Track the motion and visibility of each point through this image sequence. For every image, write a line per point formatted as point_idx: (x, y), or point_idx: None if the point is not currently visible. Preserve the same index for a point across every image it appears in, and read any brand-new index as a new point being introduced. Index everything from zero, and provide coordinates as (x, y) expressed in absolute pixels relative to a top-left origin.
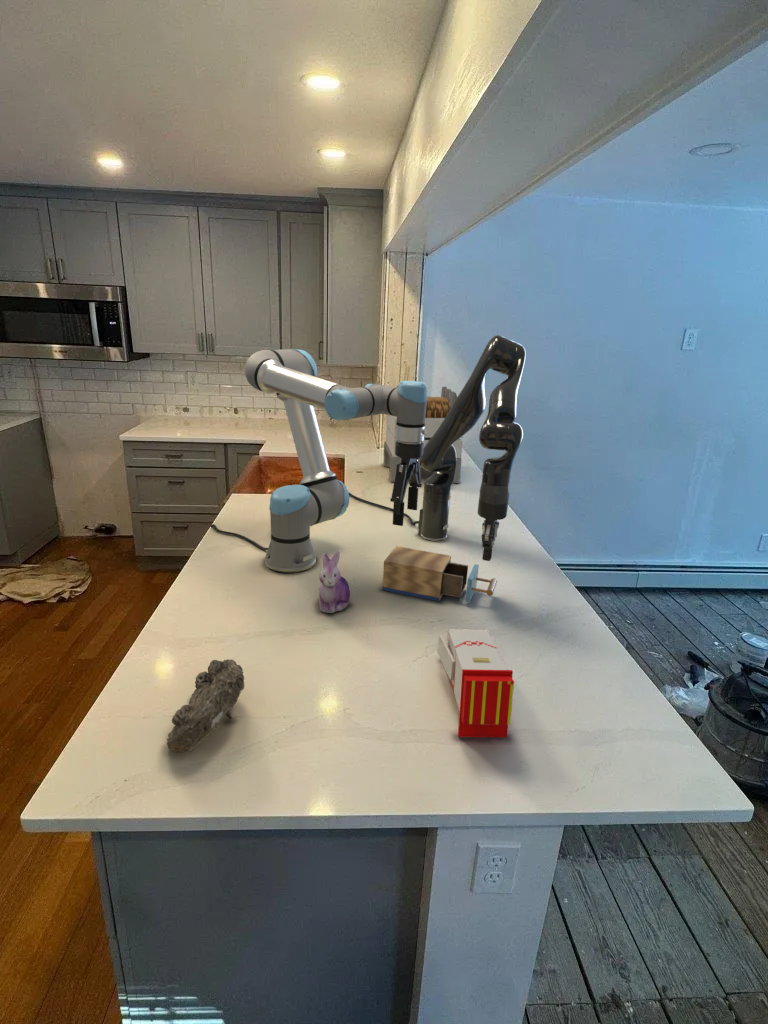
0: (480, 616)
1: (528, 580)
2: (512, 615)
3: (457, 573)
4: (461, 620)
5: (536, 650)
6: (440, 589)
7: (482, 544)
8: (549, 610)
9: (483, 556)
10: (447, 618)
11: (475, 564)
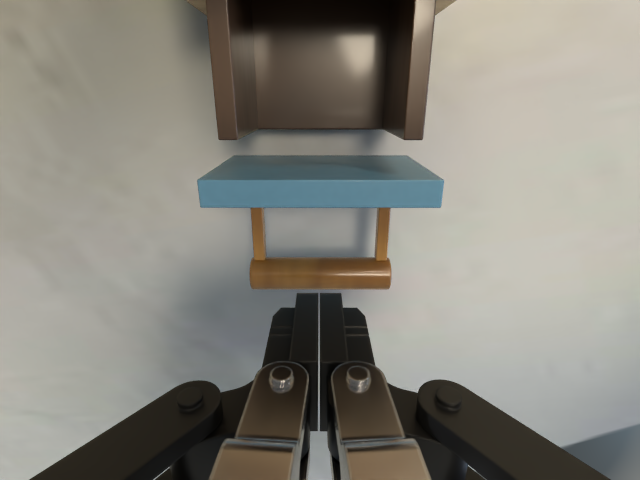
0: (180, 229)
1: (555, 352)
2: (247, 329)
3: (395, 70)
4: (106, 164)
5: (73, 407)
6: (196, 7)
7: (108, 434)
8: None
9: (295, 310)
10: (86, 102)
11: (437, 186)
